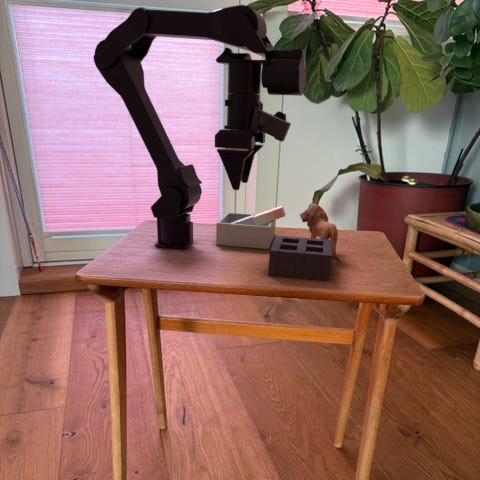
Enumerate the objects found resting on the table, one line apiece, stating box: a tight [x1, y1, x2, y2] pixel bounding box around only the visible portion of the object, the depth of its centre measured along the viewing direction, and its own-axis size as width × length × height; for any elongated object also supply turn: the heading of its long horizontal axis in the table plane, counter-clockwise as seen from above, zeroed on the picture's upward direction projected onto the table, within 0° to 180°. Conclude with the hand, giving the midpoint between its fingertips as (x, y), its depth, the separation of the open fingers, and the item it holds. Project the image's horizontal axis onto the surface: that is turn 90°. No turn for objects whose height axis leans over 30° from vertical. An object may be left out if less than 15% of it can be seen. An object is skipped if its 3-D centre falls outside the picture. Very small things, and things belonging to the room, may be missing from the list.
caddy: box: [267, 235, 333, 282], centre depth 82 cm, size 10×10×4 cm
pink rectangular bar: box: [230, 204, 286, 226], centre depth 99 cm, size 2×3×13 cm
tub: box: [215, 212, 277, 250], centre depth 99 cm, size 11×11×5 cm
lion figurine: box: [299, 203, 341, 262], centre depth 91 cm, size 15×5×9 cm, turn 19°
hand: (240, 186), depth 86 cm, fingers open, 9 cm apart
